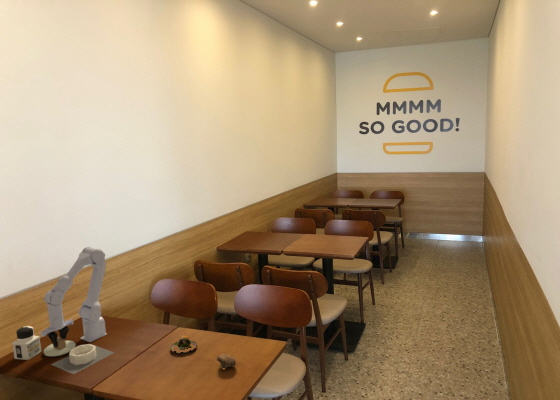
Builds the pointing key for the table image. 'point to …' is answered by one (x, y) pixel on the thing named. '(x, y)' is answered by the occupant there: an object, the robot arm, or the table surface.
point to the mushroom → (226, 361)
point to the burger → (184, 344)
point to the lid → (59, 347)
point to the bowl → (82, 354)
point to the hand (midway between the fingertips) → (59, 344)
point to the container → (26, 344)
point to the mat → (73, 368)
